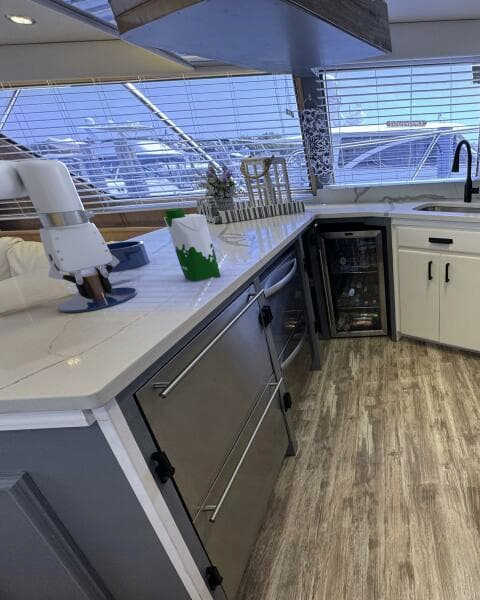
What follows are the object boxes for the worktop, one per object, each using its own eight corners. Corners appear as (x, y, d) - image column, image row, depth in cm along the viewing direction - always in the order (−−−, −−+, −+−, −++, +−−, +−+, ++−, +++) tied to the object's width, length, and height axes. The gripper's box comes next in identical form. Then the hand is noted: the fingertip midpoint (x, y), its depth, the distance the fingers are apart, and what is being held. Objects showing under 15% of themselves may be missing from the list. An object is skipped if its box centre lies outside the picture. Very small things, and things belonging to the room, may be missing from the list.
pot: (117, 281, 95) (105, 253, 91) (85, 274, 103) (74, 248, 99) (165, 268, 106) (156, 243, 102) (133, 263, 114) (124, 239, 110)
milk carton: (181, 279, 94) (158, 209, 86) (213, 271, 101) (194, 205, 93) (192, 285, 89) (169, 211, 81) (225, 276, 96) (206, 207, 88)
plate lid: (78, 319, 71) (64, 289, 68) (49, 309, 77) (34, 280, 74) (149, 295, 83) (140, 269, 80) (119, 288, 89) (109, 263, 86)
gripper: (100, 213, 80) (127, 282, 87) (6, 225, 67) (47, 305, 74) (116, 214, 77) (143, 286, 84) (20, 227, 64) (62, 311, 71)
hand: (98, 294), depth 79 cm, fingers closed on plate lid, 3 cm apart
